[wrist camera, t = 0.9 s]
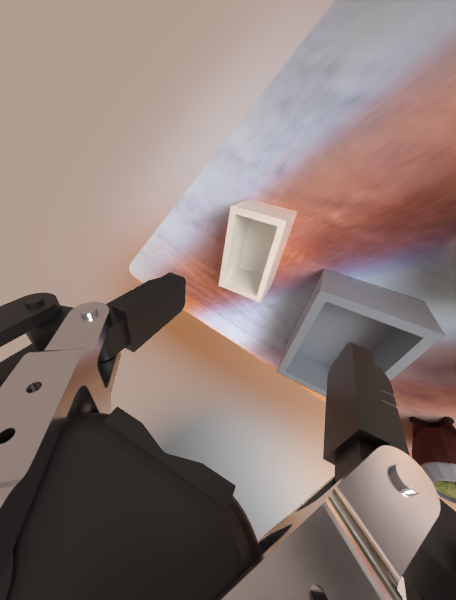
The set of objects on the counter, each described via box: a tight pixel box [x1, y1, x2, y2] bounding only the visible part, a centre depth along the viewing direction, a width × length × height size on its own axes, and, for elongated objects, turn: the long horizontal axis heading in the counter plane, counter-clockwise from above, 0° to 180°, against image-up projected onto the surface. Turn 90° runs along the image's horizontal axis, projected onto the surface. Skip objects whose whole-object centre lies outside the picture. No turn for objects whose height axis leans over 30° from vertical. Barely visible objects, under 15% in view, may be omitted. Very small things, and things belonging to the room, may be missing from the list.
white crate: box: [218, 199, 297, 303], centre depth 25 cm, size 6×10×6 cm, turn 170°
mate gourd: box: [410, 417, 456, 503], centre depth 24 cm, size 8×8×15 cm
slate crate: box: [277, 269, 445, 397], centre depth 26 cm, size 11×15×6 cm
